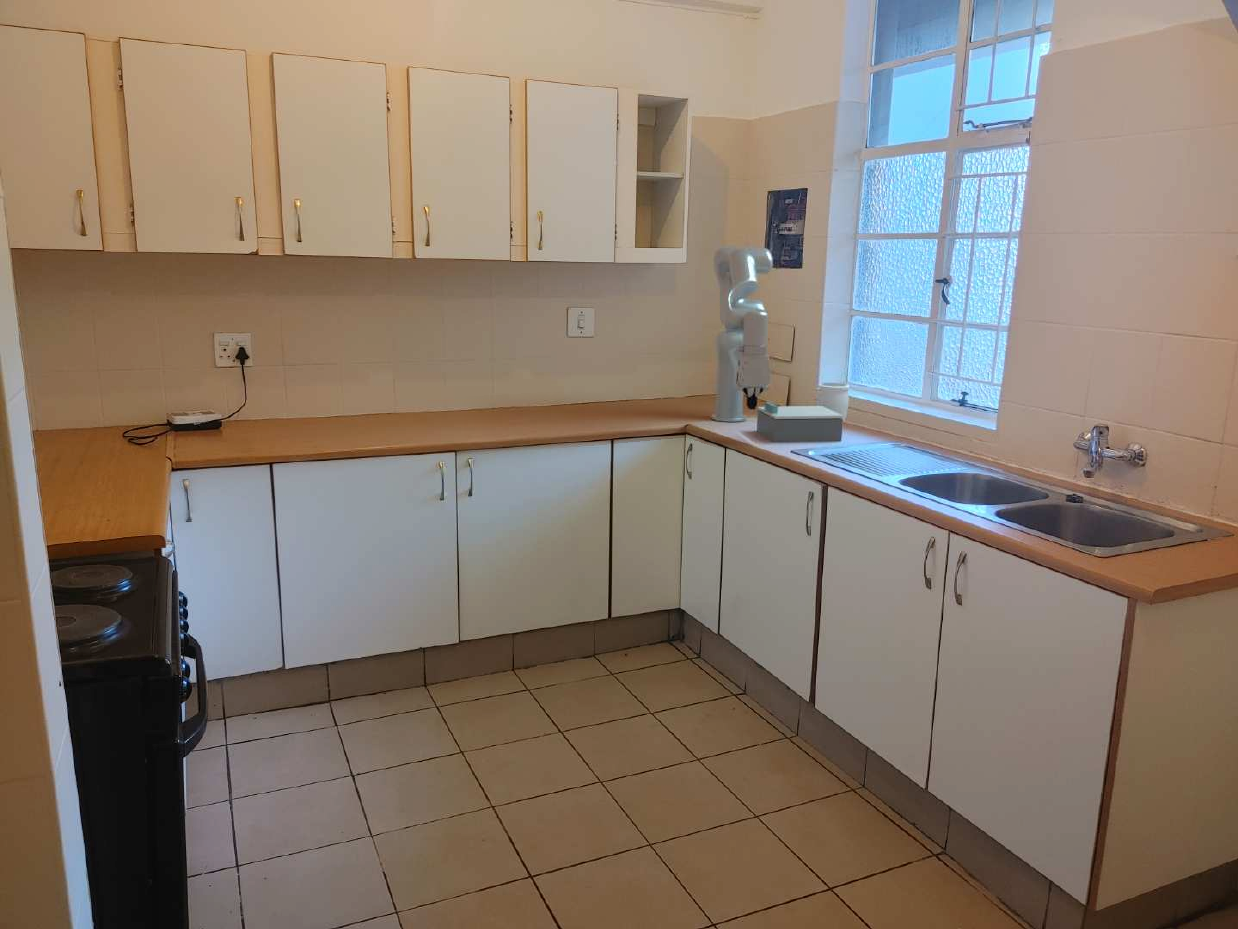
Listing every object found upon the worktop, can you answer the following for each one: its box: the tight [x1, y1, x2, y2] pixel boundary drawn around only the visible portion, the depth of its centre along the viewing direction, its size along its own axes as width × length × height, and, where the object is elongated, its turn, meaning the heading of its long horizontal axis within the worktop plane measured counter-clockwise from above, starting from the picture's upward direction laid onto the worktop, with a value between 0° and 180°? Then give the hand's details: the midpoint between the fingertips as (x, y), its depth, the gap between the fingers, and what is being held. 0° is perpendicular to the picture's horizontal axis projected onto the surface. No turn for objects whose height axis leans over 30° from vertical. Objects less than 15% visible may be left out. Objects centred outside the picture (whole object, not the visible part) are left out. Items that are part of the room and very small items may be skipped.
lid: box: [757, 401, 843, 419], centre depth 293 cm, size 18×22×3 cm
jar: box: [816, 382, 850, 428], centre depth 313 cm, size 11×10×15 cm
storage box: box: [756, 409, 844, 443], centre depth 295 cm, size 18×22×8 cm
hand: (751, 408), depth 291 cm, fingers closed
